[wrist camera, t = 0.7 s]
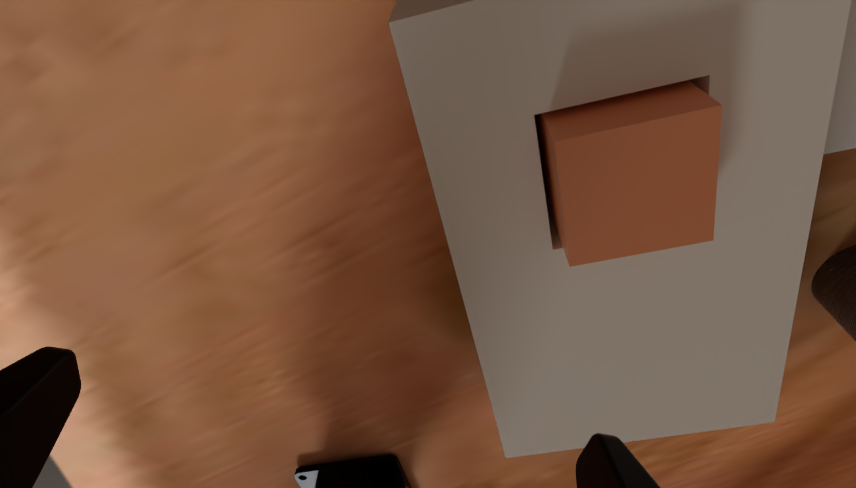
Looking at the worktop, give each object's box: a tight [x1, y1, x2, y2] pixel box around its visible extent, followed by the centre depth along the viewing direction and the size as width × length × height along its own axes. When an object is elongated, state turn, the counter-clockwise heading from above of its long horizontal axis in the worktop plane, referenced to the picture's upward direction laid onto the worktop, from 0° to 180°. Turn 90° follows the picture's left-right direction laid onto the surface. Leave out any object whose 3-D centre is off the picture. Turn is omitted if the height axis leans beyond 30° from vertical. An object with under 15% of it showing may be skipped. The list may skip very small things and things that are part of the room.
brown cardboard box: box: [535, 80, 722, 267], centre depth 17 cm, size 4×4×4 cm
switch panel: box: [388, 0, 851, 458], centre depth 20 cm, size 20×12×4 cm, turn 14°
